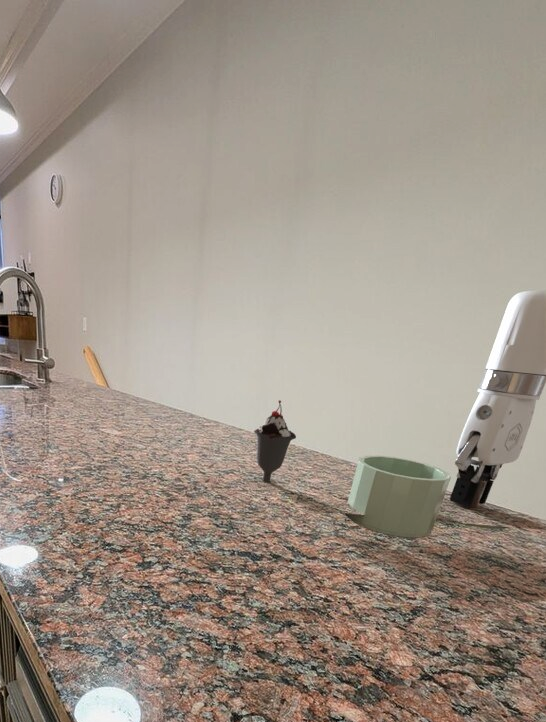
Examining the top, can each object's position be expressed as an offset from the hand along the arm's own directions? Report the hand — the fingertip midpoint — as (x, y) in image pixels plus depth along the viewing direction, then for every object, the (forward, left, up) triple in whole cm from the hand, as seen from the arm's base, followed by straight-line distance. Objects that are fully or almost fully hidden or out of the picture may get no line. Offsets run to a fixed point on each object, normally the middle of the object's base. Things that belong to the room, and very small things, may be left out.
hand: (467, 501), depth 72 cm
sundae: (+32, -4, -3) cm, 32 cm away
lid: (0, 0, -2) cm, 2 cm away
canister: (+15, +5, -3) cm, 16 cm away
